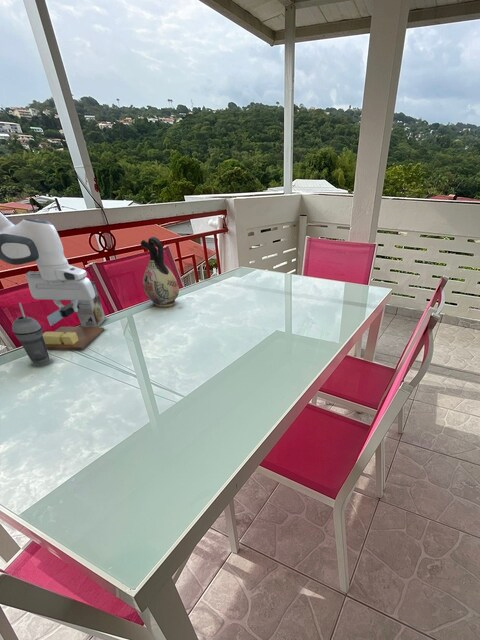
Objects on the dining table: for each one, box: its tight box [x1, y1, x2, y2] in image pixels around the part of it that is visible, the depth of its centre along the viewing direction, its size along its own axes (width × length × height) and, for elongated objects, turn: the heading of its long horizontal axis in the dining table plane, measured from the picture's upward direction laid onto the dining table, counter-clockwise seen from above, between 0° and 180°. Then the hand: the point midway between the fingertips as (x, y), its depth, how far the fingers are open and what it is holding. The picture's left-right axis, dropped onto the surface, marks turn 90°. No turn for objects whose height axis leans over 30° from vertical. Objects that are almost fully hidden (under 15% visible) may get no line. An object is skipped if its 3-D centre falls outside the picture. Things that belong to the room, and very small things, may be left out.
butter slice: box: [62, 332, 78, 345], centre depth 117 cm, size 3×4×3 cm
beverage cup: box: [11, 302, 51, 368], centre depth 102 cm, size 7×7×20 cm
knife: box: [46, 302, 79, 327], centre depth 116 cm, size 2×17×3 cm, turn 3°
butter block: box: [43, 331, 64, 344], centre depth 117 cm, size 6×4×3 cm, turn 93°
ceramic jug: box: [140, 236, 180, 308], centre depth 150 cm, size 17×15×30 cm
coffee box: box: [76, 280, 106, 327], centre depth 131 cm, size 9×6×16 cm
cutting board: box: [46, 326, 105, 351], centre depth 122 cm, size 16×18×1 cm
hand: (69, 311), depth 120 cm, fingers closed on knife, 2 cm apart
